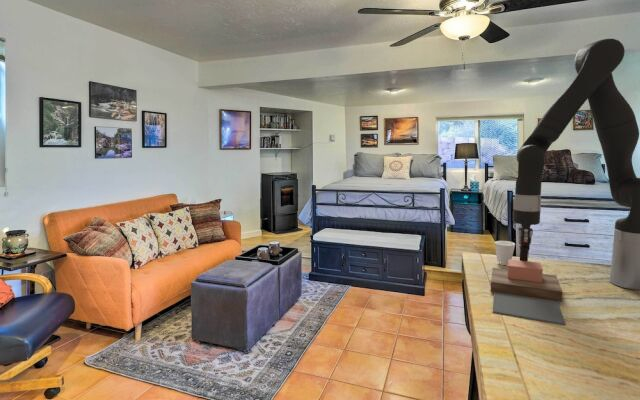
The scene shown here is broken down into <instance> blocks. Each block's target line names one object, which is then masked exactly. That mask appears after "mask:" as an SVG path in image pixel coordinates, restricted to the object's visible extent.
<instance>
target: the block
mask: <svg viewBox="0 0 640 400" xmlns="http://www.w3.org/2000/svg"><path fill="white" fill-rule="evenodd" d="M507 270H508V278H511V279H519V280H527V281H534V282H542V274H544V273H543V271H544V269H543V266H542V263H541V262H540V261H539V262H538V261H520V259H508V266H507Z"/></svg>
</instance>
